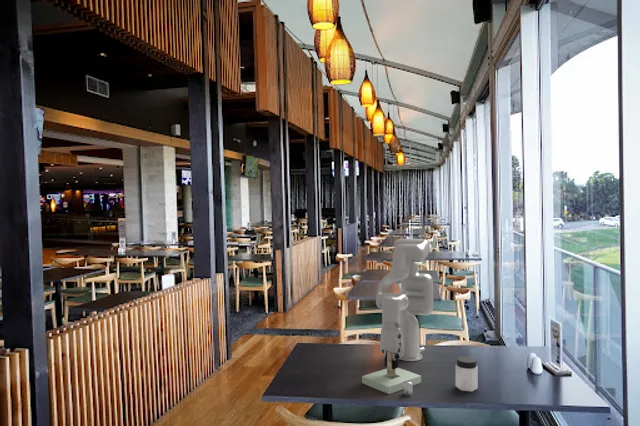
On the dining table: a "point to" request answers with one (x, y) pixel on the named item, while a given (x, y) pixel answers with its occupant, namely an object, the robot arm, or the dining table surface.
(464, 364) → the jar
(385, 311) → the robot arm
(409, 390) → the steel pin
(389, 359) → the birch pin
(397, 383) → the hole board
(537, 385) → the dining table surface
